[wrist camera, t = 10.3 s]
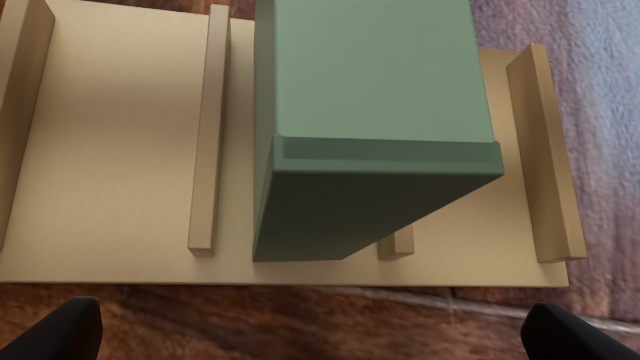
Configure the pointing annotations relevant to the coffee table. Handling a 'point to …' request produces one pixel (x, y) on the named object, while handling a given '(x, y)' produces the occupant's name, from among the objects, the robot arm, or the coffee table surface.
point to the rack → (232, 163)
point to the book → (363, 121)
